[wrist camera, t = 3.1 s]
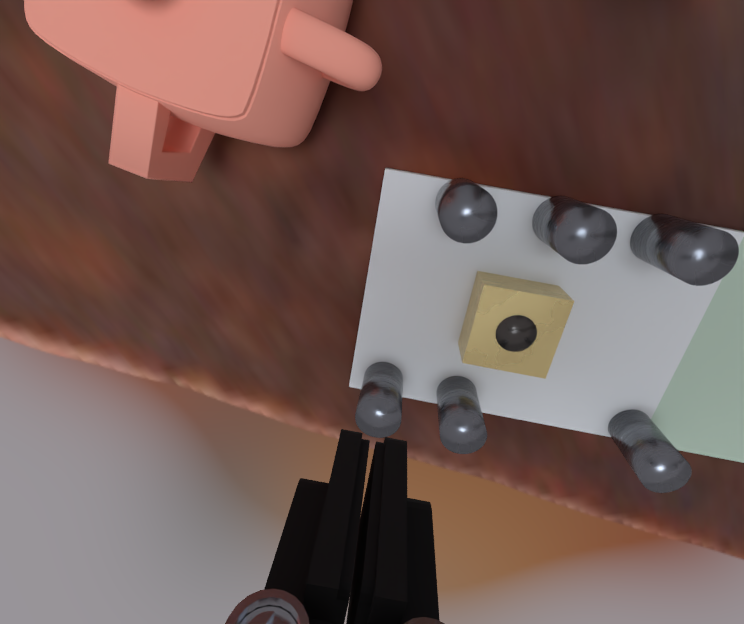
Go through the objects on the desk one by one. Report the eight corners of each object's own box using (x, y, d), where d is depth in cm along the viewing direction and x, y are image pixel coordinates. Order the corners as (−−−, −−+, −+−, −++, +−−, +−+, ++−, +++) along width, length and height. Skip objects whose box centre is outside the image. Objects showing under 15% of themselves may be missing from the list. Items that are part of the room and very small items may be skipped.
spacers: (751, 229, 21) (825, 248, 17) (640, 445, 26) (678, 496, 22) (401, 167, 21) (398, 172, 17) (361, 391, 26) (352, 432, 22)
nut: (558, 285, 23) (575, 301, 20) (533, 357, 24) (545, 379, 22) (477, 270, 23) (484, 285, 20) (457, 342, 24) (462, 363, 22)
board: (889, 257, 21) (911, 262, 20) (758, 456, 26) (771, 468, 25) (386, 167, 22) (385, 168, 21) (351, 378, 27) (348, 386, 26)
